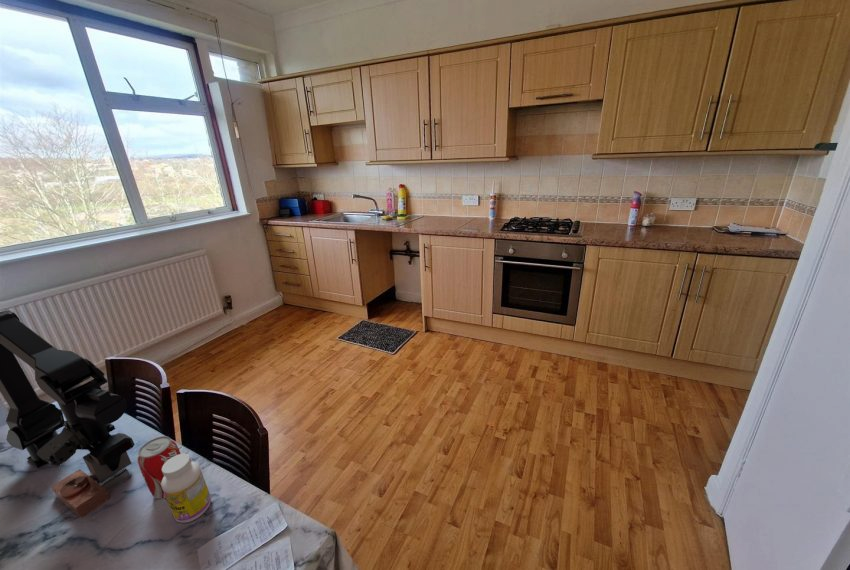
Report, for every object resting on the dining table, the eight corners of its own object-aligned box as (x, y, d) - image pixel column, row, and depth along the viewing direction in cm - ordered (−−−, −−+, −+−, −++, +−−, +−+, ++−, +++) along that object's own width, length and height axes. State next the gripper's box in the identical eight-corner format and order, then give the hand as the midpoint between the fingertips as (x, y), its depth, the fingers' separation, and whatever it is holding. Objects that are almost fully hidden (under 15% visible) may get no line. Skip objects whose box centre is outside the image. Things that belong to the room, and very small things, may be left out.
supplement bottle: (168, 517, 72) (147, 470, 67) (199, 490, 77) (182, 445, 73) (188, 529, 69) (168, 482, 65) (218, 501, 75) (202, 455, 70)
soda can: (171, 504, 74) (153, 461, 70) (144, 499, 76) (125, 457, 72) (197, 476, 81) (182, 435, 77) (172, 472, 82) (156, 432, 78)
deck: (56, 496, 78) (48, 483, 76) (110, 462, 86) (104, 450, 85) (81, 518, 72) (73, 504, 71) (135, 480, 81) (129, 467, 79)
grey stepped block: (92, 477, 80) (80, 453, 77) (123, 457, 85) (112, 434, 82) (101, 483, 78) (88, 459, 76) (131, 463, 83) (121, 439, 81)
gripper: (15, 424, 73) (47, 479, 78) (52, 453, 65) (85, 512, 70) (82, 393, 82) (106, 444, 88) (122, 415, 74) (146, 470, 80)
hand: (110, 466), depth 81 cm, fingers open, 4 cm apart
